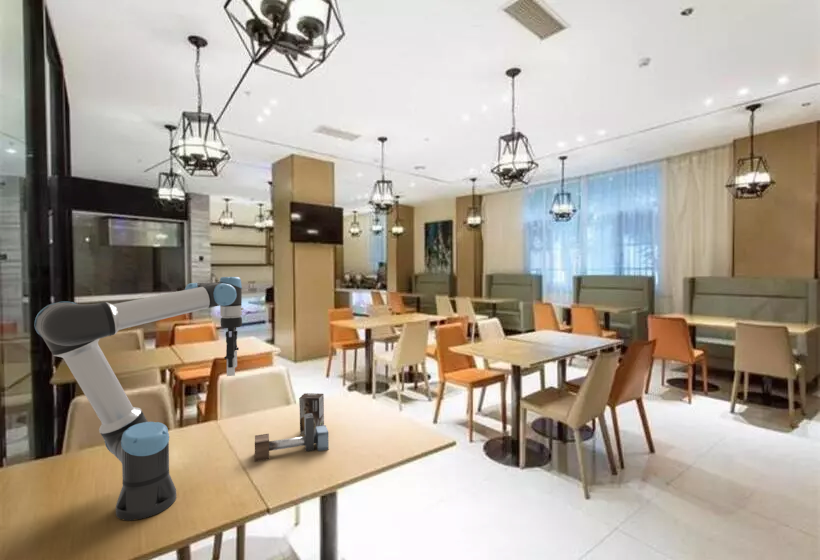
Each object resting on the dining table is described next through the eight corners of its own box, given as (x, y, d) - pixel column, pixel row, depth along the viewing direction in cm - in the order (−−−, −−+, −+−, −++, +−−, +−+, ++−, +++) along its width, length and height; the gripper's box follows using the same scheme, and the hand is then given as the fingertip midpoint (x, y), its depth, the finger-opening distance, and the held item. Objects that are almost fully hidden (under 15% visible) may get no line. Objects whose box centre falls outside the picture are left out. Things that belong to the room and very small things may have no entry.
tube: (264, 458, 145) (264, 424, 145) (264, 452, 150) (264, 419, 150) (324, 448, 153) (323, 416, 153) (322, 443, 158) (322, 411, 157)
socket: (328, 449, 153) (328, 431, 153) (318, 451, 151) (318, 433, 151) (325, 442, 159) (325, 425, 159) (315, 443, 158) (315, 426, 158)
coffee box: (324, 429, 172) (324, 393, 172) (319, 435, 166) (319, 398, 165) (304, 428, 173) (304, 392, 173) (299, 434, 167) (298, 397, 166)
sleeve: (269, 459, 145) (269, 440, 145) (254, 461, 143) (254, 443, 143) (269, 451, 151) (268, 433, 151) (255, 453, 150) (255, 435, 149)
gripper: (240, 320, 139) (241, 378, 140) (243, 312, 163) (244, 363, 163) (217, 321, 137) (218, 380, 137) (223, 313, 160) (224, 364, 160)
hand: (232, 371), depth 150 cm, fingers open, 13 cm apart
